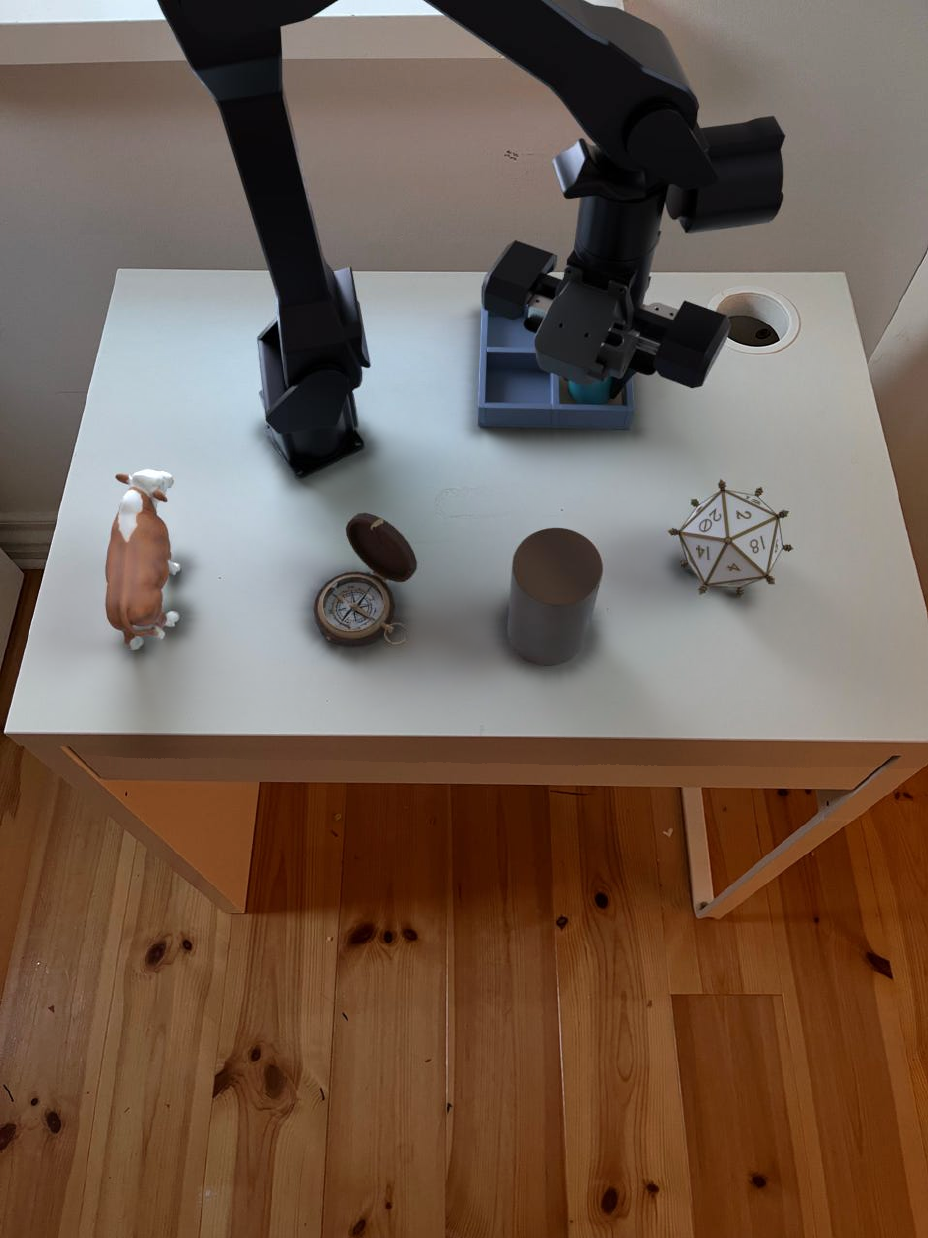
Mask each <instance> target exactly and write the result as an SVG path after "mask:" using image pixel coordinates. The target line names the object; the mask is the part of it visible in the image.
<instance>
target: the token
mask: <svg viewBox="0 0 928 1238" xmlns="http://www.w3.org/2000/svg"><path fill="white" fill-rule="evenodd" d="M614 379H615V377H613V376H610V377H608V378H607V380H606V382H605V383H604V382H601V381H598V380H596V381H595V382H594V383H592V384H590V385H587V386H582V385H578V384H576V383H574V382H573V381H571V380H568V386H567V389H568V393H569V395H570V397H571V398H572V399H573V400H574V401H575V402H577V403H579V404H581V405H603V404H605V403H606V402H608V401H609V400H610V399H611V398H610V392H611V387H612V384H613V381H614Z"/></svg>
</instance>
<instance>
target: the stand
mask: <svg viewBox="0 0 928 1238" xmlns="http://www.w3.org/2000/svg"><path fill="white" fill-rule="evenodd" d="M603 572H604V564H603V559H602V556H601V554H600V552H599V550H598V548H597V547H596V546H595V544H594V543H593V542H592V541H591V540H590V539H589V538H587V537H586V536H584V535H583V534H581V533H579V532H577V531H576V530H575V531H574V530H572V529H568V528H564V527H563V528H562V527H549V528H542V529H540V530H537V531H535V532H533V533H530V534H529V535H527V537H525V538H524V539H523V540H522V541H521V542H520V543H519V544H518V546H517V547H516V549H515V552H514V553H513V557H512V563H511V577H510V589H509V603H508V616H507V636H508V639H509V641H510V644H511V645H512V647H513V649H514V650H515V651H516V652H517V653H518V654H519V655H520V656H521V657H522V658H523V659H525V660H527V661H529V662H532V663H534V664H537V665H542V666H555V665H556V666H557V665H560V664H563V663H566V662H568V661H570V660H572V659H573V658H575V657H576V656H577V655H578V654H579V653H580V651H581V650H582V648H583V647H584V645H585V643H586V640H587V636H588V634H589V633H588V632H589V628H590V625H591V621H592V617H593V613H594V609H595V605H596V602H597V597H598V593H599V590H600V585H601V581H602V578H603Z"/></svg>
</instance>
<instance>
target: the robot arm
mask: <svg viewBox="0 0 928 1238" xmlns="http://www.w3.org/2000/svg"><path fill="white" fill-rule="evenodd" d="M156 1H157V3H158V6H159V9H160V11H161V13H162V15H163V17H164V19H165V21H166V23H167V25H168V27H169V29H170V31H171V33H172V35H173V37H174V39H175V40H176V42H177V44H178V46H179V48H180V50H181V52H182V55H183V56H184V58H185V60H186V62H187V64H188V66H189V67H190V69H191V71H192V72H193V74H194V75H195V76H196V77H197V79H198V80H199V82H200V83H201V84H202V85H203V86H204V88H205V89H206V91H207V92H208V94H210V96H211V97H212V99H213V101H214V102H215V104H216V106H217V108H218V110H219V114H220V118H221V120H222V123H223V127H224V130H225V133H226V136H227V139H228V143H229V145H230V150H231V153H232V155H233V159H234V162H235V165H236V169H237V172H238V175H239V178H240V183H241V185H242V188H243V192H244V194H245V197H246V201H247V204H248V209H249V211H250V214H251V217H252V220H253V223H254V227H255V231H256V233H257V238H258V241H259V243H260V246H261V250H262V253H263V256H264V260H265V262H266V266H267V270H268V274H269V276H270V279H271V282H272V286H273V289H274V295H275V308H276V316H275V317H274V318H273V319H272V320H271V321H270V322H269V323H268V324H267V326H266V327H265V328H264V329H263V330H262V331H261V332H260V333H259V335H257V336H256V343H257V353H258V363H259V372H260V382H261V390H259V392H258V394H259V398H260V401H261V404H262V408H263V411H264V420H265V422H266V424H265V425H264V430H265V431H264V432H265V434H267V436H268V438H269V440H270V441H271V443H272V444H273V446H274V447H275V448H276V450H277V452H278V453H279V455H280V456H281V458H282V459H283V460H284V462H285V464H286V465H287V467H288V468H289V469H290V471H291V473H292V475H293V476H294V477H295V478H296V479H298V480H303V479H305V478H307V477H310V476H311V475H313V474H315V473H318V472H319V471H322V470H324V469H326V468H328V467H330V466H332V465H334V464H336V463H338V462H340V461H343V460H344V459H346V458H348V457H351V456H353V455H354V454H356V453H359V452H361V451H362V450H363V449H364V448H365V441H364V439H363V438H362V436H361V435H360V434H359V432H358V431H357V430H356V429H357V428H359V424H360V422H359V417H358V411H357V406H356V405H357V404H356V399H355V394H354V392H353V391H355V390H356V389H359V388H360V387H361V386H362V383H363V368H365V369H370V368H371V360H370V353H369V348H368V342H367V337H366V331H365V326H364V325H365V324H364V321H363V314H362V309H361V303H360V302H359V301H360V300H358V295H357V289H356V284H355V279H354V274H353V273H354V272H353V268H352V267H351V266H348V267H345V268H342V269H341V268H340V269H339V270H335V271H334V270H333V268H332V267H331V266H330V265H329V264H328V262H327V260H326V258H325V256H324V251H323V249H322V244H321V239H320V235H319V231H318V227H317V223H316V218H315V214H314V210H313V206H312V202H311V197H310V193H309V188H308V184H307V181H306V180H307V179H306V176H305V170H304V168H303V167H304V166H303V163H302V159H301V155H300V150H299V145H298V141H297V138H296V133H295V130H294V129H295V128H294V124H293V120H292V116H291V111H290V107H289V103H288V99H287V95H286V90H285V86H284V82H283V43H282V27H286V26H288V25H289V26H290V25H292V24H293V25H294V24H297V23H301V22H305V21H307V20H309V19H311V18H313V17H315V16H316V15H318V14H320V13H321V12H323V11H324V10H326V9H327V8H329V7H331V6H332V5H334V4H335V3H337V2H339V0H156ZM422 1H423V2H425V3H426V4H427V5H429V6H430V7H431V8H433V9H435V10H436V11H438V12H439V13H441V14H442V15H444V17H446V18H448V19H449V20H451V21H452V22H453V23H455V24H456V25H458V26H460V27H461V28H463V29H464V31H466V32H468V33H470V34H471V35H472V36H474V37H475V38H476V39H478V40H479V41H481V42H482V43H484V44H485V45H486V46H488V47H490V48H491V49H493V50H494V51H495V52H497V53H498V54H500V55H501V56H502V57H504V58H506V60H508V61H510V62H511V63H513V64H514V65H516V66H517V67H518V68H520V69H522V70H523V71H524V72H526V73H527V74H529V75H530V76H531V77H534V79H536V80H537V81H539V82H540V83H542V84H543V85H545V87H547V88H549V89H550V91H551V92H553V94H554V95H555V96H556V97H557V99H559V100H560V101H561V103H562V104H563V105H564V106H565V108H566V109H567V110H568V113H570V115H571V116H572V117H573V118H574V120H575V121H576V123H577V124H578V125H579V127H580V128H581V129H582V131H583V132H584V133H585V135H586V136H587V137H588V139H590V141H592V142H593V143H594V145H592V144H589V143H588V142H587V141H586V139H585V138H582V137H581V138H578V140H577V141H576V142H575V143H574V144H573V145H572V146H571V147H568V148H565V149H564V150H562V151H561V152H560V153H558V154H557V155H556V156H554V158H553V159H552V161H551V162H552V163H551V164H552V167H553V170H554V173H555V176H556V180H557V181H558V185H559V187H560V190H561V193H562V196H563V198H564V199H565V200H575V199H579V203H578V212H577V221H576V228H575V234H574V244H573V250H572V251H571V253H570V254H569V256H568V257H567V259H566V265H565V267H564V272H563V277H562V279H561V278H559V277H556V276H553V275H550V273H553V272H554V271H555V269H556V268H557V264H558V255H557V254H555V253H553V252H550V251H548V250H545V249H541V248H539V247H536V246H534V245H531V244H528V243H525V242H522V241H519V240H517V239H515V240H513V241H511V242H510V243H508V244H507V245H506V247H504V249H503V251H502V252H501V254H500V255H499V256H498V258H497V259H496V260H495V262H494V263H493V265H492V266H491V267H490V269H489V270H488V272H486V274H485V276H484V278H483V281H482V284H481V290H480V291H481V293H480V296H481V299H480V301H481V302H480V303H481V306H482V305H483V308H484V310H487V311H489V312H492V313H494V314H497V315H500V316H502V317H505V318H508V319H510V320H515V319H518V318H520V317H522V316H523V315H524V313H525V312H526V302H527V307H528V308H529V312H528V316H527V318H526V319H525V321H524V327H525V329H526V330H528V331H530V332H533V333H536V335H535V337H534V347H535V352H536V357H537V362H538V365H539V367H540V368H541V369H542V370H543V371H545V372H548V373H553V374H556V375H558V376H561V377H563V380H565V381H568V380H571V381H573V382H574V383H576V384H578V385H582V386H587V385H590V384H592V383H594V382H595V381H596V380H598V381H601V382H604V383H605V382H606V380H607V378H608V377H610V376H613V377H615V379H614V381H613V384H612V387H611V392H610V398H611V399H615V398H616V397H617V395H618V394H619V393H620V391H621V390H622V389H623V387H624V386H625V385H626V383H627V382H628V381H629V380H630V379H631V378H632V379H633V378H634V376H635V375H637V373H638V374H640V375H642V376H643V375H644V376H647V377H651V376H653V375H655V374H656V373H657V374H658V375H659V376H660V377H661V378H664V379H666V380H668V381H671V382H674V383H676V384H679V385H681V386H685V387H687V388H689V389H697V388H700V387H703V385H704V383H705V381H706V379H707V377H708V375H709V374H710V372H711V371H712V368H713V367H714V365H715V363H716V361H717V358H718V357H719V355H720V353H721V351H722V350H723V347H724V346H725V344H726V342H727V339H728V336H729V334H730V330H731V327H732V325H731V323H730V320H729V317H728V316H727V314H724V313H721V312H718V311H716V310H712V309H711V308H707V307H704V306H701V305H699V304H696V303H694V302H690V301H687V300H683V302H682V304H681V305H680V307H679V308H675V307H672V306H669V305H666V304H663V303H661V302H652V303H650V304H644V301H645V296H646V293H647V291H648V289H649V288H650V284H651V279H652V276H650V275H651V269H652V265H653V260H654V255H655V251H656V248H657V247H658V245H659V243H660V238H661V234H662V230H660V227H661V224H662V223H661V222H662V218H663V214H664V210H665V207H666V211H667V214H668V217H669V218H670V219H671V220H672V221H679V224H680V226H681V228H682V229H683V231H684V233H685V234H698V233H706V232H712V231H720V230H725V229H726V230H727V229H732V228H733V229H734V228H741V227H747V226H754V225H762V224H770V223H771V222H772V221H774V220H775V218H776V217H777V215H778V214H779V212H780V210H781V208H782V205H783V201H784V193H783V188H784V187H783V186H784V160H783V153H782V147H783V145H784V142H785V138H786V134H785V132H784V131H783V129H782V127H781V125H780V123H779V121H778V120H777V118H776V116H775V115H769V116H762V117H756V118H753V119H751V120H748V121H743V122H738V123H737V122H736V123H730V124H722V125H714V126H713V125H712V126H706V127H700V125H699V123H698V114H699V113H698V112H699V109H700V103H699V100H698V97H697V95H696V93H695V91H694V89H693V87H692V85H691V83H690V81H689V79H688V77H687V75H686V73H685V71H684V69H683V67H682V64H681V63H680V61H679V59H678V56H677V54H676V53H675V50H674V48H673V46H672V44H671V42H670V40H669V38H668V37H667V35H666V34H665V33H664V31H663V30H661V28H658V27H657V26H655V25H654V24H651V23H649V22H648V21H646V20H643V19H641V18H639V17H638V16H635V15H633V14H631V13H630V12H627V11H625V10H623V9H621V8H619V7H617V6H607V5H599V4H593V3H591V2H589V1H587V0H422ZM530 296H531V297H530ZM528 299H529V300H528Z"/></svg>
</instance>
